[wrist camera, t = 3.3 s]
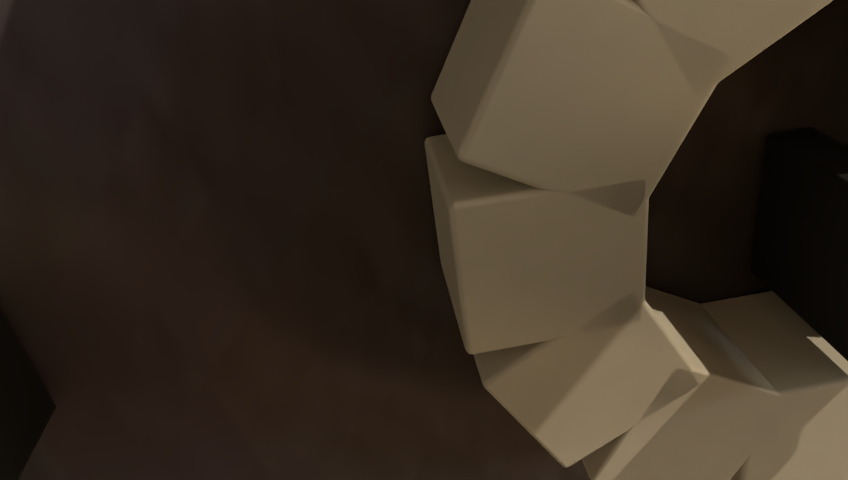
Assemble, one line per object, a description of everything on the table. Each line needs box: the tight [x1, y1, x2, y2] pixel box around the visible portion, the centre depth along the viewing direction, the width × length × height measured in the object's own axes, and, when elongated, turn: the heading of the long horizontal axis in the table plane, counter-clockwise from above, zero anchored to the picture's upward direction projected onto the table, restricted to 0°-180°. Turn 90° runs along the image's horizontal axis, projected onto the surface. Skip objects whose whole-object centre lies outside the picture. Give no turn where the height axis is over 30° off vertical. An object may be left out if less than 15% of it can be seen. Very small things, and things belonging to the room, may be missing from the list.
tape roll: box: [424, 0, 848, 480], centre depth 10 cm, size 11×11×3 cm
